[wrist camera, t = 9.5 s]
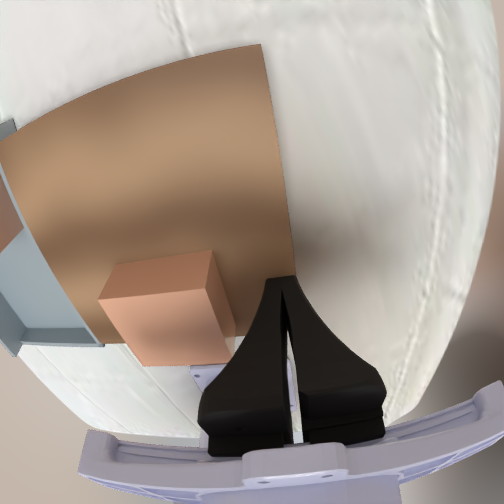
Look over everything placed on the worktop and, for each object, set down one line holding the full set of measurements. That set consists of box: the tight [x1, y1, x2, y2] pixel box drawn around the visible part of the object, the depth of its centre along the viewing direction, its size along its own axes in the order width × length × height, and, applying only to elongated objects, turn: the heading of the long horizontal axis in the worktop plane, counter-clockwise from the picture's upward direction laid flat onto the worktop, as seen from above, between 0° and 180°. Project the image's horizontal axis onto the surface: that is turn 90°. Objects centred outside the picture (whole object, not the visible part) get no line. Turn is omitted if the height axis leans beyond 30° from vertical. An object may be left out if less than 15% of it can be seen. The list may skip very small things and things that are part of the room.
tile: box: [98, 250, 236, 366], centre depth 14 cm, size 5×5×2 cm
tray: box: [0, 119, 105, 357], centre depth 15 cm, size 16×10×4 cm, turn 10°
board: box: [0, 44, 296, 344], centre depth 14 cm, size 14×13×2 cm
